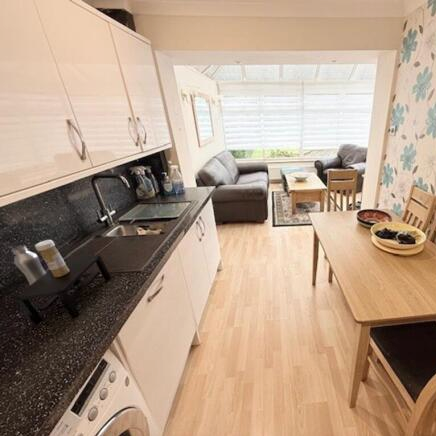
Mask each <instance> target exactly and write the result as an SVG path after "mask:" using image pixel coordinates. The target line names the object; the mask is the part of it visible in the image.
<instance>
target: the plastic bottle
mask: <svg viewBox="0 0 436 436" xmlns="http://www.w3.org/2000/svg"><path fill="white" fill-rule="evenodd" d="M11 252H12V254H13V255H15V256H14V259H13V264H14V265H15V266H16V267H17V268H18V269H19V270H20V271H21V272H22V274H23V275H24V276H25V278H26V280H27V282H28V285H29V286H30V285H32V284H33V283H34V282H35V281H37V280H38V279H39V278H40V277H42V276H43V275H44V274H46V273H47V271H46V269H44V267H43V265H42V263H41V261H40V258H39V255H38V254H37V253H35V252H33V251H31V250H29V249H28V247H27V246H26V245H24V244H23V245H18V246H16V247H13V248H11Z"/></svg>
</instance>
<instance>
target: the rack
mask: <svg viewBox="0 0 436 436" xmlns="http://www.w3.org/2000/svg"><path fill="white" fill-rule="evenodd" d="M63 260H64V262H65V264H66V266H67V268H68V269H69V272H68V273H67V274H65V275H63V276H61V277H54V276H53V273H52V272H51V270H50V269H49V270H48V271H46V274H44V275H43V276H42V277H40V278H39V279H38V280H37V281H35V282H34V283H33V284H32V285H29V286H28V287H26V288H25V289H24V290H22V291H21V292H20V293H19V294H18V295H16V296H15V297H14V300H15V301H16V302H17V303H18V305H19V307H20V308H22V310H23V311H24V313H25V314H26V316H28V317H29V319H30V321H31V322H32V324H34V325H36V324H37V325H38V324H40V323H41V322H42V321H43V318H42V317H41V315H40V314H39V313H38V311H39V312H42V311H47V310H48V309H49V308H50V307H51V306H52V305H53V304H55V302H56V301H58V300H60V302H61V304H60V305H59V308H65V309H66V311H67V312H68V314H69V315H70V317H71V318H72V319H77V318H79V316H80V314H81V313H80V311H78V308H77V307H76V306H75V304H74V301H75V300H76V299H77V298H78V297H79V296H80V295H81V294H82V293H83V292H84V291H85V290H86V288H87V287H88V286H89V285H90V284H91V283H92V282H93V281H94V280H95V279H96V278H97V276H99V275H100V273H101V275H102V277H103V279H104V280H105V281H110V280H111V278H112V276H111V274H110V272H109V271H108V268H107V266H106V264H105V263H104V260H103V259H102V256H101V254H96V255H95V254H94V255H88V256H79V257H72V258H71V257H69V258H63ZM95 263H96V266H97V267H98V269H99V271H95V272H92V273H91V274H90V275H89V276H88V277H87V278H85V280H84V281H83V282H82V281H81V279H80V278H81V277H82V276H83V275H85V273H86V272H87V271H88V270H89V269H90V268H92V267H93V266H94V264H95ZM81 282H82V283H81ZM80 283H81V284H80ZM79 284H80V285H79ZM73 285H74V286H75V285H79V286H78V287H77V288H76V289H75V290H74V291H73V292H72V293H71V294H70V295H69V294H68V293H67V291H68V290H69V289H70V288H71V287H72V286H73ZM46 297H50V298H48V299H47V300H46V301H45V302H44V303H42V305H41V306H40V307H39V308H38V309H37V310H38V311H37V310H36V308H35V307H34V306H33V304H32V303H31V302H30V300H32V299H39V298H46Z"/></svg>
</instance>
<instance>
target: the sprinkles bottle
mask: <svg viewBox="0 0 436 436" xmlns="http://www.w3.org/2000/svg"><path fill="white" fill-rule="evenodd" d="M34 247H35V249H36V251H38V253H39V254H40V256H41V257H42V258H43V261H44V263H45V264H46V265H47V267H48V269H49V270H51V272H52V273H53V276H54V277H61V276H63V275H65V274H67V273H68V272H69V269H68V268H67V266H66V264H65V262H64V260H63V259H64V258H63V257H62V255H61V253H60V251H59V250H58V249H57V247H56V246H55V242H54V241H53V240H52V239H46V240H42V241H40V242H38V243H35V245H34Z"/></svg>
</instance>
